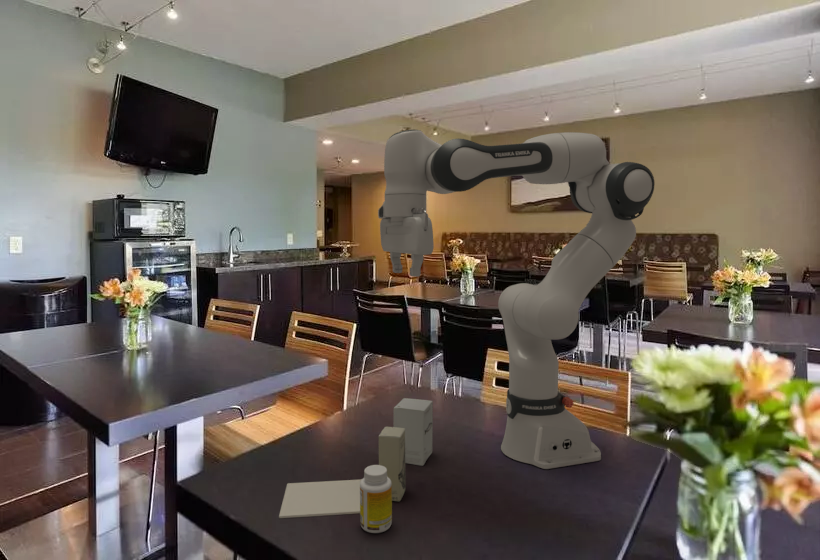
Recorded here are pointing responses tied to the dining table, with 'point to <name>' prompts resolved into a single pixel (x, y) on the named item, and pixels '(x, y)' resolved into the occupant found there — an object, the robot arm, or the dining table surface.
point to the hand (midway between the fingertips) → (406, 274)
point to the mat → (321, 498)
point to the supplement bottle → (375, 500)
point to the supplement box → (415, 428)
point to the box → (393, 458)
